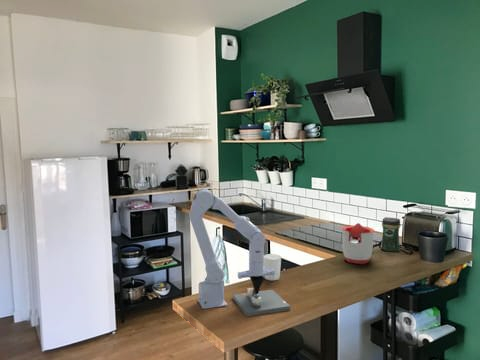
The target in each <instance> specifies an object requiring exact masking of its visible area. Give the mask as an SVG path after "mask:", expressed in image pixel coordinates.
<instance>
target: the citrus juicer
mask: <svg viewBox="0 0 480 360" xmlns="http://www.w3.org/2000/svg"><path fill="white" fill-rule="evenodd" d="M341 229H342V239H341V240H342V245H341V246H342V253H343V257H344V259H345V261H347V263H352V264H358V265H359V264H360V265H364V264H367V263H368V264H369V262H370V260H371V256H372V254H373V247H374V232H375V229H374V228H372V227H369V226H364V225H363V226H362V225H361V223H359V222H357V223H356V224H355V225H346V226H342V228H341Z"/></svg>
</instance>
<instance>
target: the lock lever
mask: <svg viewBox="0 0 480 360" xmlns="http://www.w3.org/2000/svg"><path fill="white" fill-rule="evenodd" d="M246 293H247V295H248V297H249V299H250V300H251V302H252V307H254V308H260V307H261V301H262V297H261V296H259V297H258V298H255V297H254V294H255V293H256V292H255V290H254V287H247V288H246Z"/></svg>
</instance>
